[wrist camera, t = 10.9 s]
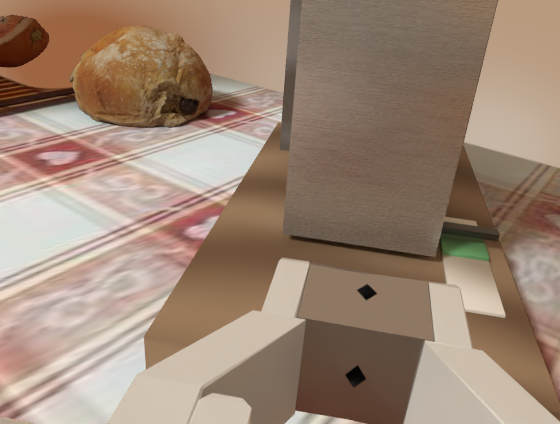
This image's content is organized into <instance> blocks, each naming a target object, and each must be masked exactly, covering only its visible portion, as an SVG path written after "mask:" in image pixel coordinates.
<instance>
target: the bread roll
mask: <svg viewBox="0 0 560 424" xmlns="http://www.w3.org/2000/svg"><path fill="white" fill-rule="evenodd" d="M72 81H73V89H74V91H75V98H76V101H77V103H78V106H79V109H81V110H82V111H83V112H84V113H85V114H87V115H89V116H90V117H91V118H92V119H93V120H95V121H103V122H109V123H112V124H116V125H121V126H129V127H157V126H164V127H175V126H177V125H180V124H181V123H184V122H187V121H189V120H192V119H194V118H196V117H197V116H198V115H200V114H203V113H204V112H205V111H206V110H207V109H208V108H209V106H210V104H211V99H212V83H211V78H210V75H209V72H208V70H207V68H206V66H205V65H204V63H203V61H202V60H201V58H200V57H199V55H198V54H197V53H196V52H195V51H194V50H193V49H192V48H191V47H190V46H189V45H187V44H186V43H185V42H184V40H183V38H182V37H181V36H179V35H178V34H174V33H171V34H167V33H165V32H164V31H162V30H159V29H155V28H151V27H147V26H128V27H124V28H120V29H117V30H115V31H113V32H112V33H110V34H108V35H106V36H105V37H103V38H101V39H100V40H99V41H98V42H96V43H95V44H94V45H93V46H91V48H90V49H89V50H88V51H87V52H86V53H83V54H82V58H81V61H80V63H78V64H77V66H76V68H75V69H74V70H73V72H72V74H71V76H70V82H72Z"/></svg>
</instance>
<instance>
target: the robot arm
mask: <svg viewBox="0 0 560 424" xmlns="http://www.w3.org/2000/svg"><path fill="white" fill-rule="evenodd" d="M295 410H296V411H302V412H307V413H313V414H319V415H325V416H331V417H337V418H343V419H348V420H353V421H357V422H361V423H366V424H560V421H559V420H557V419H556V418H555V417H554V416H553V415H552V414H551V413H550V412H549V411H548V410H547V409H545V408H544V407H543V406H542V405H541V404H540V403H539V402H538V401H537V400H536V399H535V398H534V397H532V396H531V395H530V394H529V393H528V392H527V391H526V390H525V389H524V388H523V387H522V386H521V385H519V384H518V383H517V382H516V381H515V380H514V379H513V378H512V377H511V376H510V375H509V374H507V373H506V372H505V371H504V370H503V369H502V368H501V367H500V366H499V365H498V364H497V363H496V362H494V361H493V360H492V359H491V358H490V357H489V356H488V355H487V354H486V353H485V352H484V351H482V350H477V349H473V345H472V341H471V336H470V331H469V327H468V322H467V318H466V313H465V308H464V304H463V299H462V295H461V290H460V288H459V287H458V286H457V285H453V284H445V283H437V282H429V281H420V280H413V279H406V278H398V277H391V276H384V275H376V274H369V273H368V272H363V271H357V270H352V269H346V268H341V267H335V266H330V265H324V264H319V263H313V262H311V264H310V262H309V261H303V260H296V259H289V258H283V257H282V258H281V259H280V260H279V262H278V265H277V268H276V271H275V274H274V277H273V279H272V282H271V285H270V288H269V291H268V294H267V297H266V299H265V302H264V305H263V308H262V311H261V312H260V311H254V310H253V311H251V312H249V313H247V314H245V315H243V316H242V317H240V318H238V319H236V320H234V321H233V322H231V323H229V324H227V325H225V326H224V327H222V328H220V329H218V330H216V331H215V332H213V333H211V334H209V335H207V336H206V337H204V338H202V339H200V340H198V341H197V342H195V343H193V344H191V345H189V346H188V347H186V348H184V349H182V350H180V351H179V352H177V353H175V354H173V355H171V356H170V357H168V358H166V359H164V360H162V361H161V362H159V363H157V364H155V365H153V366H152V367H150V368H148V369H146V370H144V371H143V372H141V373H139V374H137V375H136V377H135V378H134V380H133V382H132V383H131V385H130V387H129V388H128V390H127V392H126V393H125V395H124V397H123V398H122V400H121V402H120V403H119V405H118V407H117V408H116V410H115V412H114V413H113V415H112V417H111V419H110V420H109V422H108V424H285V423H286V422H287V421H288V420H289V419H290V418H291V417H292V416H293V415H294V414H295ZM0 424H34V423H30V422H25V421H20V420H16V419H11V418H7V417H2V416H0Z"/></svg>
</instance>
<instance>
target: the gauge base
mask: <svg viewBox="0 0 560 424" xmlns="http://www.w3.org/2000/svg"><path fill="white" fill-rule="evenodd" d="M497 2H498V0H497ZM496 6H497V4H496ZM301 7H302V0H291V5H290V17H289V18H290V19H289V32H288V45H287V58H286V71H285V85H284V98H283V111H282V123H280V122H278V124H277V126H276V127H275V129H274V130H273V132H272V134H271V135H270V137H269V138H268V140H267V141H266V143H265V145H264V146H263V148H262V149H261V151H260V153H259V154H258V156H257V157H256V159H255V161H254V162H253V164H252V165H251V167H250V169H249V170H248V172H247V173H246V175H245V177H244V178H243V180H242V181H241V183H240V184H239V186H238V188H237V189H236V191H235V192H234V194H233V196H232V197H231V199H230V200H229V202H228V204H227V205H226V207H225V208H224V210H223V212H222V213H221V215H220V216H219V218H218V219H217V221H216V223H215V224H214V226H213V227H212V229H211V231H210V232H209V234H208V235H207V237H206V239H205V240H204V242H203V243H202V245H201V247H200V248H199V250H198V251H197V253H196V254H195V256H194V258H193V259H192V261H191V262H190V264H189V266H188V267H187V269H186V270H185V272H184V274H183V275H182V277H181V278H180V280H179V282H178V283H177V285H176V286H175V288H174V290H173V291H172V293H171V294H170V296H169V297H168V299H167V301H166V302H165V304H164V305H163V307H162V309H161V310H160V312H159V313H158V315H157V317H156V318H155V320H154V321H153V323H152V325H151V326H150V328H149V329H148V331H147V332H146V334H145V336H144V343H145V360H146V369H148V368H150V367H152V366H153V365H155V364H157V363H159V362H161V361H162V360H164V359H166V358H168V357H170V356H171V355H173V354H175V353H177V352H179V351H180V350H182V349H184V348H186V347H188V346H189V345H191V344H193V343H195V342H197V341H198V340H200V339H202V338H204V337H206V336H207V335H209V334H211V333H213V332H215V331H216V330H218V329H220V328H222V327H224V326H225V325H227V324H229V323H231V322H233V321H234V320H236V319H238V318H240V317H242V316H243V315H245V314H247V313H249V312H251V311H253V310H254V311H260V312H261V311H262V308H263V305H264V302H265V299H266V297H267V294H268V291H269V288H270V285H271V282H272V279H273V277H274V274H275V271H276V268H277V265H278V262H279V260H280V259H281V258H282V257H283V258H289V259H296V260H303V261H309V262H310V264H311V262H313V263H319V264H324V265H330V266H335V267H341V268H346V269H352V270H357V271H363V272H368V273H369V274H376V275H384V276H391V277H398V278H406V279H413V280H420V281H429V282H437V283H445V284H453V285H457V286H458V287H459V288H460V290H461V295H462V299H463V304H464V308H465V313H466V318H467V322H468V327H469V331H470V336H471V341H472V345H473V349H477V350H482V351H484V352H485V353H486V354H487V355H488V356H489V357H490V358H491V359H492V360H493V361H494V362H496V363H497V364H498V365H499V366H500V367H501V368H502V369H503V370H504V371H505V372H506V373H507V374H509V375H510V376H511V377H512V378H513V379H514V380H515V381H516V382H517V383H518V384H519V385H521V386H522V387H523V388H524V389H525V390H526V391H527V392H528V393H529V394H530V395H531V396H532V397H534V398H535V399H536V400H537V401H538V402H539V403H540V404H541V405H542V406H543V407H544V408H545V409H547V410H548V411H549V412H550V413H551V414H552V415H553V416H554V417H555V418H556V419H557V420H559V421H560V402H559V399H558V397H557V394H556V391H555V389H554V386H553V383H552V381H551V378H550V375H549V373H548V370H547V367H546V365H545V362H544V359H543V357H542V354H541V351H540V349H539V346H538V343H537V341H536V338H535V335H534V333H533V330H532V327H531V325H530V322H529V319H528V317H527V314H526V311H525V309H524V306H523V303H522V301H521V298H520V295H519V292H518V290H517V287H516V284H515V282H514V279H513V276H512V274H511V271H510V268H509V266H508V263H507V260H506V258H505V255H504V252H503V250H502V247H501V244H500V242H499V239H498V242H497V241H490V240H483V239H476V238H470V237H463V236H456V235H449V234H442V233H441V235H440V239H439V243H438V248H437V252H436V256H435V257H432V256H426V255H419V254H413V253H406V252H399V251H393V250H386V249H380V248H373V247H367V246H360V245H354V244H347V243H341V242H334V241H328V240H321V239H315V238H308V237H302V236H295V235H288V234H283V222H284V210H285V198H286V186H287V174H288V162H289V150H290V139H291V127H292V115H293V103H294V91H295V79H296V67H297V55H298V43H299V31H300V19H301ZM495 11H496V8H495ZM494 15H495V12H494ZM493 19H494V16H493ZM492 23H493V20H492ZM491 27H492V25H491ZM490 31H491V29H490ZM489 35H490V33H489ZM488 40H489V37H488ZM487 43H488V41H487ZM486 48H487V45H486ZM485 52H486V49H485ZM484 56H485V54H484ZM483 60H484V58H483ZM482 64H483V62H482ZM481 68H482V66H481ZM480 72H481V70H480ZM479 77H480V74H479ZM478 81H479V78H478ZM477 85H478V82H477ZM476 88H477V87H476ZM475 93H476V91H475ZM474 97H475V95H474ZM473 101H474V99H473ZM472 105H473V103H472ZM471 110H472V107H471ZM470 114H471V111H470ZM469 118H470V115H469ZM468 122H469V120H468ZM467 126H468V124H467ZM466 130H467V128H466ZM465 134H466V132H465ZM464 138H465V136H464ZM463 143H464V140H463ZM444 222H449V223H456V224H463V225H470V226H477V227H484V228H491V229H495V228H494V226H493V223H492V220H491V218H490V215H489V212H488V210H487V207H486V204H485V202H484V199H483V196H482V194H481V191H480V188H479V186H478V183H477V180H476V178H475V175H474V172H473V170H472V167H471V164H470V162H469V159H468V156H467V154H466V151H465V148H464V146H463V144H462V148H461V153H460V157H459V161H458V165H457V169H456V173H455V177H454V181H453V186H452V190H451V194H450V198H449V202H448V206H447V210H446V214H445V219H444Z"/></svg>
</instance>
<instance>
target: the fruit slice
mask: <svg viewBox="0 0 560 424" xmlns="http://www.w3.org/2000/svg"><path fill="white" fill-rule="evenodd" d="M48 42H49V35H48V33H47V32H45V30H44V29H43V28H42V27H41V25H40V24H39V23H38V22H37V21H36V20H35V19H33V18H27V17H23V16H17V15H10V16H6V17H5V18H4V16H2V17H0V67H17V66H21V65H24V64H25V63H28V62H29V61H31V60H33V59H34V58H36V57H37V56H38V55H40V54H41V52H43V51H44V49H45V48H46V47H47V45H48Z"/></svg>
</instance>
